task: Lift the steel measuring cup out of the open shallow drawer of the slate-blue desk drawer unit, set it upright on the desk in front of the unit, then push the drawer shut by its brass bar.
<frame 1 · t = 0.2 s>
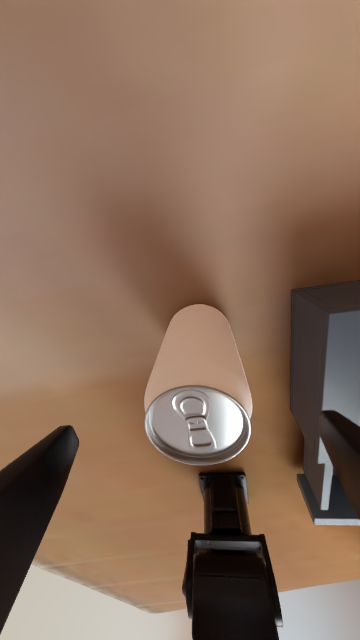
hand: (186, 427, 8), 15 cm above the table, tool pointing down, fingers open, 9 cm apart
can: (199, 331, 22), on the table
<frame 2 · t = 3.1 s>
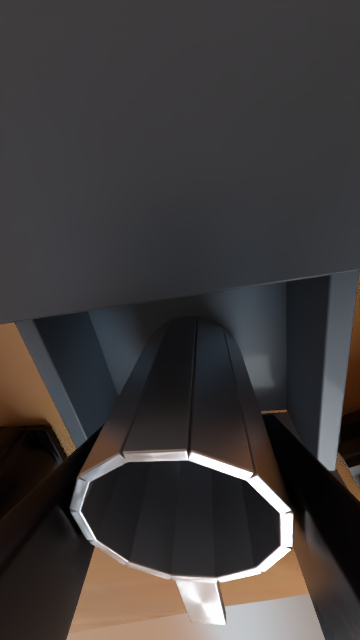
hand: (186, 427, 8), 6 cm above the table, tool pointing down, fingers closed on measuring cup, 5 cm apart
cabinet: (150, 102, 9), on the table
drawer: (195, 399, 11), point 3 cm above the table, slide at 10.0 cm, touching measuring cup
measuring cup: (191, 360, 12), point 2 cm above the table, touching drawer, gripper
when the fingers open (4 cm above the table, at t = 8.2 s): measuring cup stays where it is, on the table.
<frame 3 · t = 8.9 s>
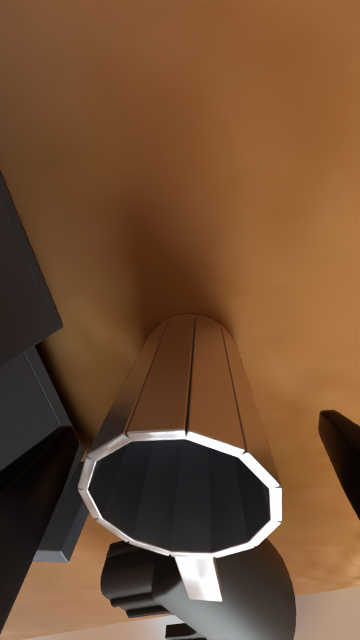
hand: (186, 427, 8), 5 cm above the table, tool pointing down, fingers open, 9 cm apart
end cap: (203, 487, 17), on the table
measuring cup: (190, 356, 12), on the table
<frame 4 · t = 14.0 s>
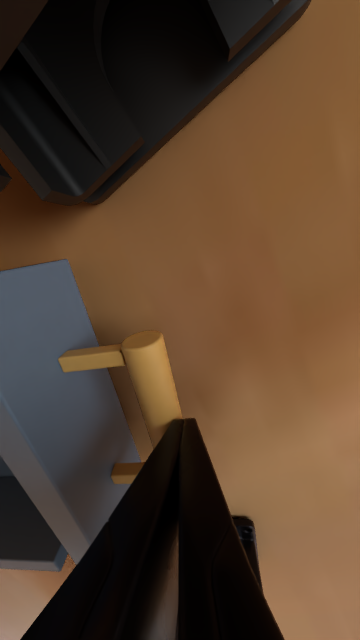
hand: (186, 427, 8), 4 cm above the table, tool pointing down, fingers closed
end cap: (122, 12, 7), on the table
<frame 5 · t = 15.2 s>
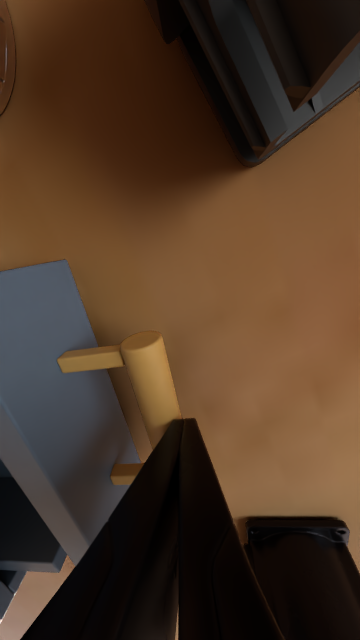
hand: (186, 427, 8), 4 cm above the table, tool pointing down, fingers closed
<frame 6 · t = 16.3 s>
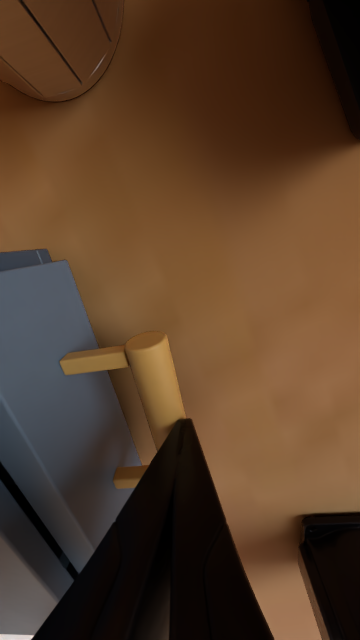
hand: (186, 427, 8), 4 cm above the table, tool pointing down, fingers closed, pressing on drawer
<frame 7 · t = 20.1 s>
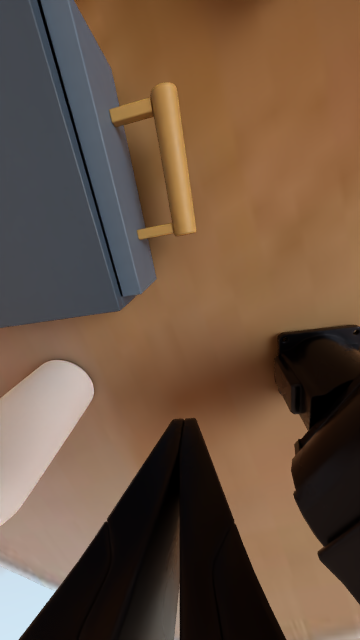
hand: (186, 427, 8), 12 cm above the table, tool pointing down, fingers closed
cabinet: (40, 214, 17), on the table
drawer: (54, 199, 13), point 3 cm above the table, slide at 0.0 cm, touching cabinet
can: (68, 381, 23), on the table
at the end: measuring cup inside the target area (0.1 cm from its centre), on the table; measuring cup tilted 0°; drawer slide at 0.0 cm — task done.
